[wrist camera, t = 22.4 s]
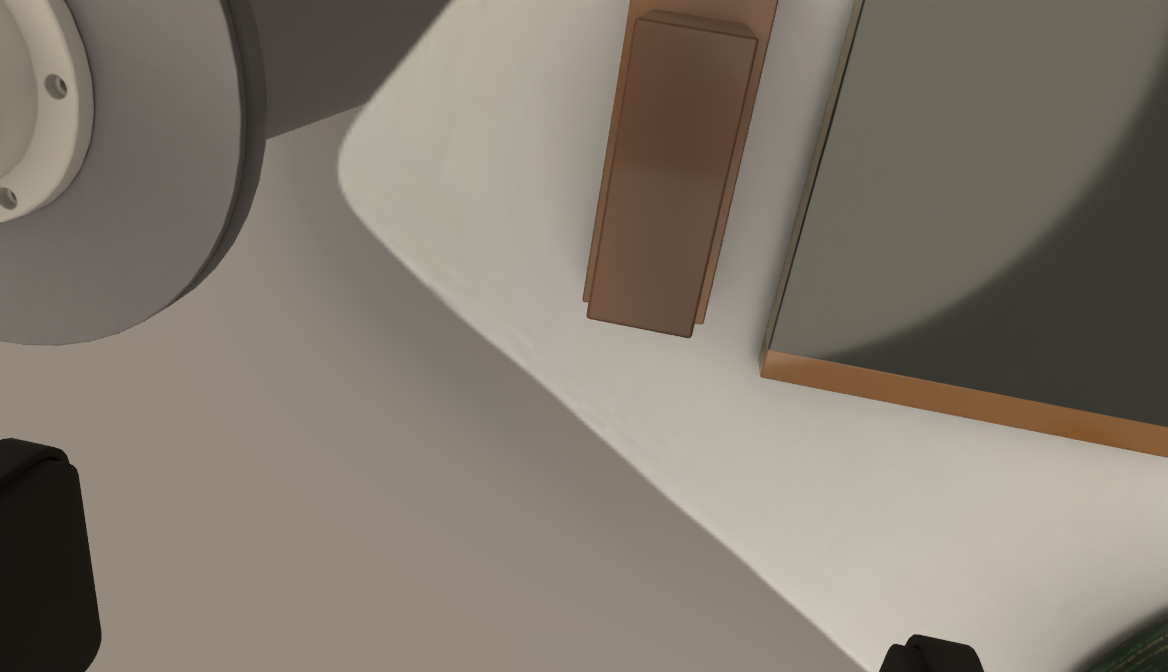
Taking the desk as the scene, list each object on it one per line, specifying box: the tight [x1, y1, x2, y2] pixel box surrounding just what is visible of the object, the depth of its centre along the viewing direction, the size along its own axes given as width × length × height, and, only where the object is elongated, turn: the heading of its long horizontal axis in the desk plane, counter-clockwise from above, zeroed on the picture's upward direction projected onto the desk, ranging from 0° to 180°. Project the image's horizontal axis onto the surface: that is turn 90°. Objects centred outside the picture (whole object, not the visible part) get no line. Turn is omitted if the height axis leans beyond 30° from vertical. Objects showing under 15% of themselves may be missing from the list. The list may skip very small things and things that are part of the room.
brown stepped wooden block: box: [583, 0, 778, 338], centre depth 25 cm, size 4×12×8 cm, turn 172°
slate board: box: [758, 0, 1168, 458], centre depth 26 cm, size 16×22×2 cm
